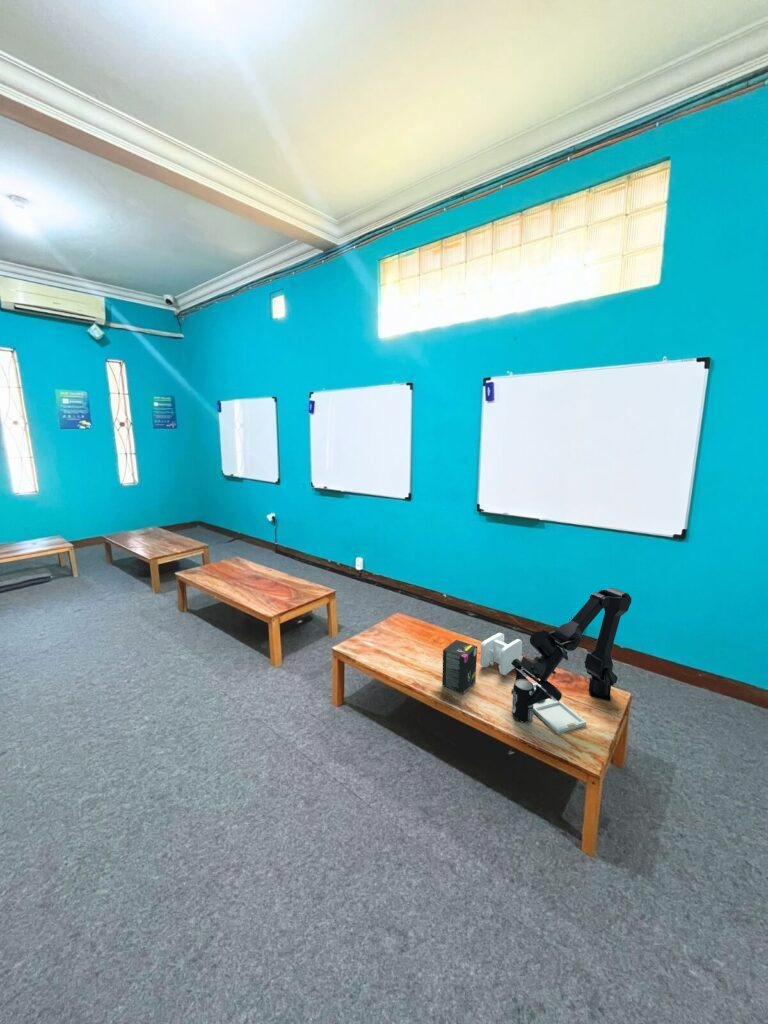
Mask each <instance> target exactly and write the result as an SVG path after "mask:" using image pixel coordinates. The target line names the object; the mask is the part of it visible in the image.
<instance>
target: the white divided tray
mask: <svg viewBox="0 0 768 1024" xmlns="http://www.w3.org/2000/svg"><path fill="white" fill-rule="evenodd" d="M532 684H533V688H534V692H535V690H536V685H538V686H539V687H541V685H539V684H538V683H537V682H535V683H533V682H532ZM512 690H513V687H512V688H511V693H512ZM551 698H552V699H550V698H548V699H545V700H542V701H540V702H537V703H535V704H534V705H533V714H535V715H536V716H537V717H538V718H539V719H540V720H541V721H542V722H543V723H545V725H547V727H548V728H550V729H551V730H552V731H553V732H554V733H555V734H556V735H560V734H563V733H566V732H569V731H573V730H576V729H579V728H583V727H587V721H586V720H585V719H583V718H582V717H581V716H580V715H579V714H577V713H576V712H575V711H574V710H572V709H571V708H570V707H568V705H566V704H565V703H563V701H561V699H560V700H559V702H558V701H557V700H555V699H554V698H553V697H552V696H551Z"/></svg>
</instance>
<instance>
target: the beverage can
mask: <svg viewBox="0 0 768 1024" xmlns="http://www.w3.org/2000/svg"><path fill="white" fill-rule="evenodd" d="M515 680H516V679H515ZM515 680H514V683H515V684H514V683H513V684H514V685H513V687H512V688H513V693H512V705H511V708H512V709H511V715H512V717H513V718H514V719H515V720H517V721H518V722H520V723H528V722H531V721H532V719H533V717H534V716H533V715H534V712H533V705H534V704H533V705H531V706H527V705H526V703H527V702H528V700H529V699H530V697H531V696H532V695H533V693H534V688H533V682H531V681H530V680H529V679H528V680H529V681H528V680H525V679H518V680H516V681H515Z"/></svg>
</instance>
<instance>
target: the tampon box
mask: <svg viewBox="0 0 768 1024" xmlns="http://www.w3.org/2000/svg"><path fill="white" fill-rule="evenodd" d="M477 657H478V646H476V645H474V644H471V643H467V642H466V641H465V642H464V641H461V640H459V639H455V640H454V641H453V642H451V643H450V644H449V645H447V646H446V647H445V648H444V649H443V650H442V676H441V677H442V683H441V685H442V687H446V688H447V689H450V690H453V691H455V692H457V693H460V694H462V695H464V694H465V693H466V692H468V690H469V689H470V688H471V687H472V686H473V685H474V684H475V683H476V681H477V679H476V675H477Z"/></svg>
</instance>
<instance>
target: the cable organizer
mask: <svg viewBox="0 0 768 1024" xmlns="http://www.w3.org/2000/svg"><path fill="white" fill-rule="evenodd" d="M522 648H523V640H522V639H519V638H517V639H515V640H513V641H512V642H509V644H507V642H505V633H503V632H502V633H501V632H497V633H496V634H494V635H492V636H490V637H488V638H487V639H485V640H483V641H482V643H480V661H479V663H480V666H481V667H483V668H488V667H489V666H491V667H493V666H494V665H495V663H496V664H497V665H498V668H497V669H499V674H501V675H503V676H506V675H507V674H509V673H510V672H511V671H513V670H514V668H515V667H514V666H513V665H512V664H511V663H512V661H513V660H514V659H518V660H520V661H521V660H522V652H523V651H522V650H523V649H522Z"/></svg>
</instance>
